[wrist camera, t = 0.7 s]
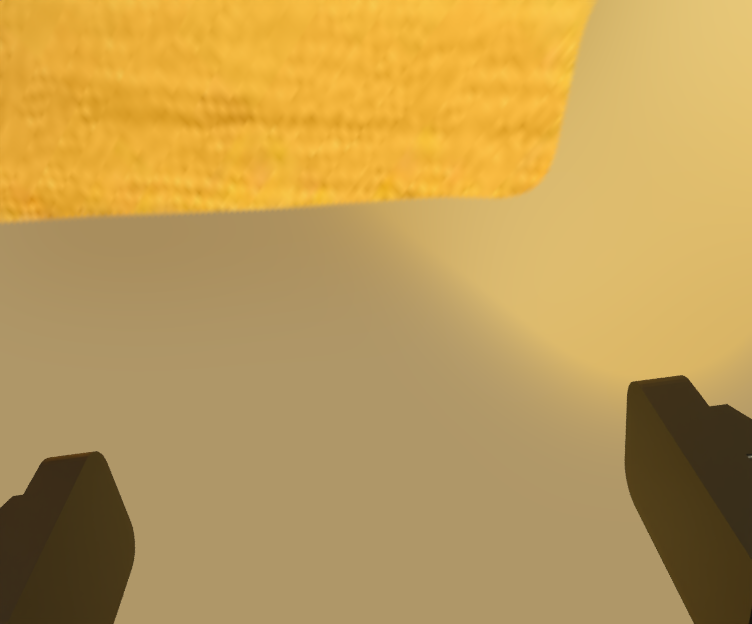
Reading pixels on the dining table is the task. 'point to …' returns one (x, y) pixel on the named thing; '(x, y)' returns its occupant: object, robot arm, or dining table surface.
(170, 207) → the dining table surface
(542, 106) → the dining table surface
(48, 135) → the dining table surface
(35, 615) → the robot arm
